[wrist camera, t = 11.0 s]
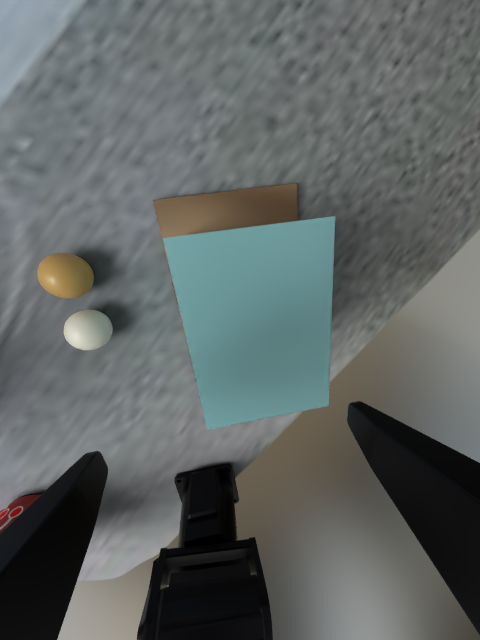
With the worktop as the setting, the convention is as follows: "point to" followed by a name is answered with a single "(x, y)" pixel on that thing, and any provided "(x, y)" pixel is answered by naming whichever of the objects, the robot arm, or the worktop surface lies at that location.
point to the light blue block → (257, 317)
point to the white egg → (88, 329)
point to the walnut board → (226, 211)
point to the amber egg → (65, 275)
